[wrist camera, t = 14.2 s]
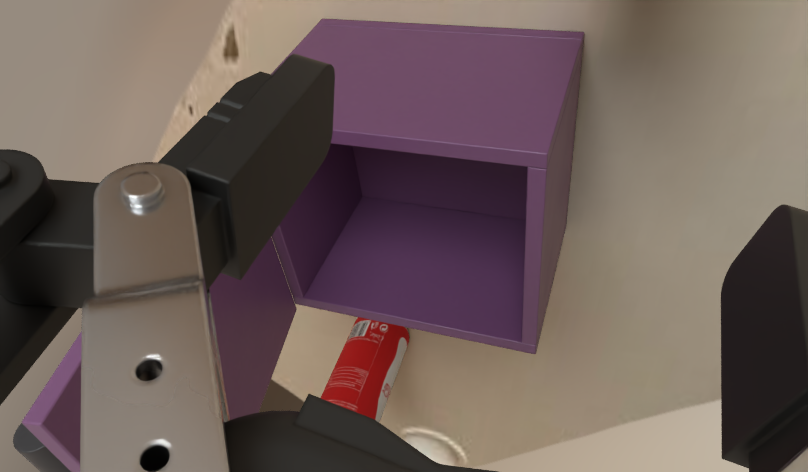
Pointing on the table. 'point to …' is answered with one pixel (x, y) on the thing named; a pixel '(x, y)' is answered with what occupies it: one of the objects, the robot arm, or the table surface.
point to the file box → (438, 178)
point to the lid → (239, 354)
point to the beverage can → (367, 367)
